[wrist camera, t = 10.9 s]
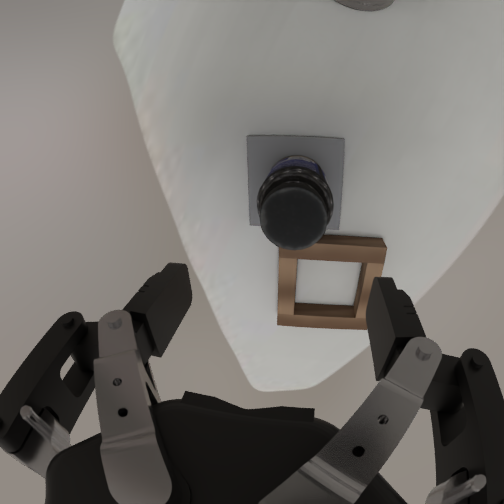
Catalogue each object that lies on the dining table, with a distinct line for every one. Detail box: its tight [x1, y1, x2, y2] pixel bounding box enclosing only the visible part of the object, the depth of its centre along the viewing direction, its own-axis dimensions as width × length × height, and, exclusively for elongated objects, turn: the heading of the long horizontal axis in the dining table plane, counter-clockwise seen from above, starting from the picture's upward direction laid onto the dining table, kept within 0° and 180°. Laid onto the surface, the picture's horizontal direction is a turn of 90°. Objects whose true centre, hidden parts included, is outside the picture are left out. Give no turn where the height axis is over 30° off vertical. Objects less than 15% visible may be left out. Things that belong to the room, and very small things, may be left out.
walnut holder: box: [277, 234, 387, 330], centre depth 32 cm, size 12×12×2 cm
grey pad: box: [247, 136, 345, 230], centre depth 28 cm, size 10×10×1 cm
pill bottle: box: [257, 155, 334, 250], centre depth 23 cm, size 6×6×11 cm
